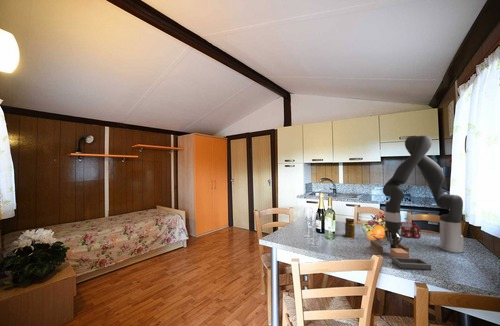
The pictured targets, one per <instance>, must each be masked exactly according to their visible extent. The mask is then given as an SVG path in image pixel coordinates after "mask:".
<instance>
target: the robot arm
mask: <svg viewBox="0 0 500 326" xmlns="http://www.w3.org/2000/svg"><path fill="white" fill-rule="evenodd" d="M432 140H433V139H431V137H429V136H428V135H416V136H415V135H414V136H409V137H407V138H406V139H405V141H404V147H405V149H406V151H407V152H408V154H409V156H408V158H406V159H405V160H404V161H403V162H402V163H400V164H399V165H398V166H397V168H396V170H395V171H394V173H393V175H392V177H391V178H390V179H389V180H387V182H386V183H385V184H384V185H383V188H382V194H383V195H384V196H385V197H389V200H388V201H385V205H384V206H385V210H384V211H385V212H384V227H385V228H386V230H384V234H385V237H386V240H387V241H388V243H389V249H390V248H396V244H399V243H401V241H402V239H403V238H402V237H401V236H400V231H401V222H402V221H401V220H402V217H401V204H402V202H403V197H404V190H403V188H402V187H401V185H405V184H406V183H407V182H408V180H409V178H410V176H411V174H412V172H413V171H414V169H415V168H416V166H417V168H418V169H419V170H420V173H421V175H422V177H423V178H424V180H425V182H426V184H427V185H428V187H429V190H430V192H431V194H432V198H433V199H434V202H435V204H436V206H437V207H439V208H440V209H444V210H448V211H449V212H448V213H447V214H441V215H439V247H440V249H441V250H443V251H445V252H450V253H456V254H457V253H458V254H460V253H463V252H464V235H462V219H463V213H464V212H463V210H464V209H463V208H464V200H463V198H462V197H461V196H460V195H457V194H456V195H455V194H451V193H450V194H449V193H445V192H444V190H443V187H442V186H443V184H444V181H445V178H446V177H445V173H444V171H443V169H442V168H441V166H440V165H439V164H438V163H437V162H435V160H433V159H432V158H430V157H429V156H427V153H428V152H429V150H430V149H431V147H432V144H433V141H432Z"/></svg>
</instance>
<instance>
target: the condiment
mask: <svg viewBox="0 0 500 326" xmlns="http://www.w3.org/2000/svg"><path fill="white" fill-rule="evenodd" d="M355 226H356V225H355V220H354V219H351V218H346V219H345V224H344V228H345V229H344V233H345V234H342V235H341V237H342V238H346V239H349V240H351V239H352V240H353V239H355V238H357V236H356V235H355V232H356V231H355Z"/></svg>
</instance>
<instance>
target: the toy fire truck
mask: <svg viewBox="0 0 500 326" xmlns="http://www.w3.org/2000/svg"><path fill="white" fill-rule="evenodd" d="M419 226H420V225H417V223H416V222H415V221H413V222H411V221H410V222H409V221H401V229H400V233H401V235H403V236H405V237H406V238H407V239H411V238H412V237H413V238H414V239H416V240H417V239H421V235H422V230H421V228H420V227H419Z"/></svg>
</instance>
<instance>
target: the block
mask: <svg viewBox="0 0 500 326" xmlns="http://www.w3.org/2000/svg"><path fill="white" fill-rule="evenodd" d="M389 249H390V251H389V252H390V253H389V255H390V256H391V257H397V258H410V252H409V253H408V252H406V251H405V250H403V249H398V248H390V247H389Z"/></svg>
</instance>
